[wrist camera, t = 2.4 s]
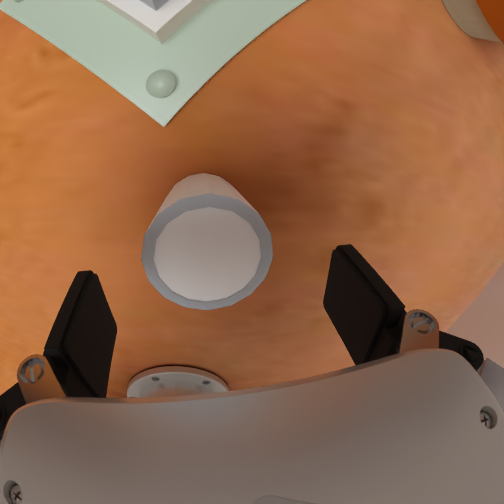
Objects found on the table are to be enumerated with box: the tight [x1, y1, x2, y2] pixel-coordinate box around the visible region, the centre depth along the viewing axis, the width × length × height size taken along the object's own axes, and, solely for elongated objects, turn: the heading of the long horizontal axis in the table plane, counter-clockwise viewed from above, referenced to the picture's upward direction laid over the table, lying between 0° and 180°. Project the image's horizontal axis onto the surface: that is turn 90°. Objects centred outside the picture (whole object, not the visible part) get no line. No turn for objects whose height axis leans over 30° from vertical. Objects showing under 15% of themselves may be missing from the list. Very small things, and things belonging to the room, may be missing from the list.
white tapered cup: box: [141, 173, 273, 310], centre depth 17 cm, size 7×7×7 cm
